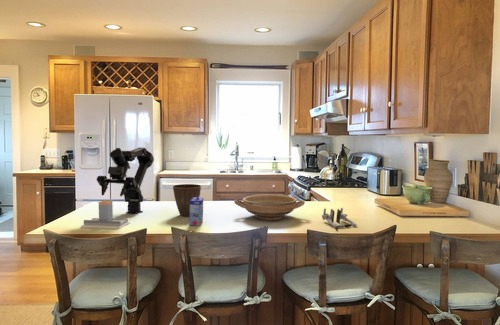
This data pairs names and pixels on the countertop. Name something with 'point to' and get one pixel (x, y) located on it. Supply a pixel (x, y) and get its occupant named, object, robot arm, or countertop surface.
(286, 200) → the ceramic bowl
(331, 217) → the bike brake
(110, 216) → the block
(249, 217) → the countertop surface
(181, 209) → the plant pot
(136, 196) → the robot arm
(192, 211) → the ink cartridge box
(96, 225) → the rail plate
